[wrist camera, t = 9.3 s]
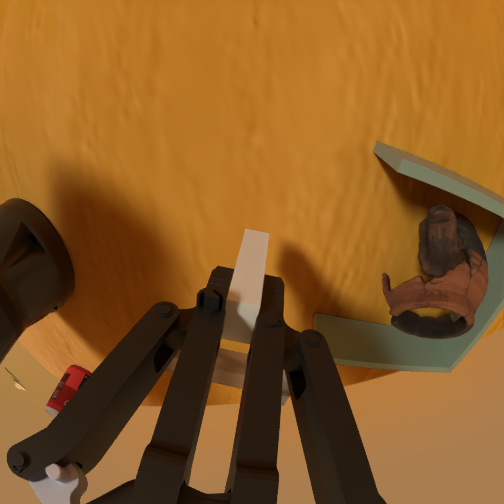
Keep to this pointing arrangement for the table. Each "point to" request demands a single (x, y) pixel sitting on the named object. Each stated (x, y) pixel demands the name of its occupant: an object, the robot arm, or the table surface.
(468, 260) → the pottery mug
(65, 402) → the canned food
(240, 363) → the hammer
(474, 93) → the table surface
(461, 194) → the green u-shaped frame
